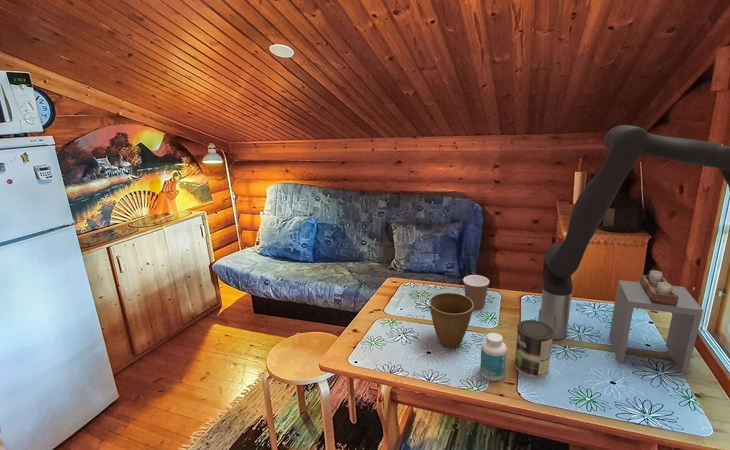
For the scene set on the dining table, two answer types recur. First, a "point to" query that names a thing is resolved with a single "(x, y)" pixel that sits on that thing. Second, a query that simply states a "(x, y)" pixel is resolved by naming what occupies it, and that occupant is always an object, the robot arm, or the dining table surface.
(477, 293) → the coffee cup
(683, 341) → the grey hollow frame
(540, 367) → the coffee can
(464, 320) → the plant pot
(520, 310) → the dining table surface
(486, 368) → the pill bottle
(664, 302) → the tray
